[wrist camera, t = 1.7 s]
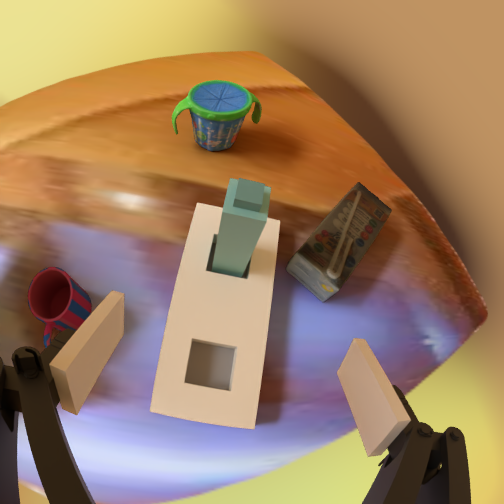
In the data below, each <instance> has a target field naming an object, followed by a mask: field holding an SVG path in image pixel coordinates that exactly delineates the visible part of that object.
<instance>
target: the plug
mask: <svg viewBox="0 0 504 504" xmlns="http://www.w3.org/2000/svg"><path fill="white" fill-rule="evenodd" d="M270 192H271V187H268V186H265V184H263V183H259V182H255V181H250V180H246V179H241V178H239V180H237V179H232V178H230V181H229V185H228V190H227V194H226V198H225V202H224V206H223V211H222V216H221V221H220V226H219V232H218V237H217V243H216V248H215V254H214V260H213V265H212V271H211V272H214V273H219V274H224V275H229V276H234V277H239V278H241V277H242V275H243V273H244V271H245V269H246V266H247V264H248V262H249V260H250V258H251V255H252V253H253V251H254V249H255V246H256V244H257V242H258V240H259V238H260V235H261V233H262V231H263V229H264V227H265V224H266V222H267V216H268V208H269V200H270Z"/></svg>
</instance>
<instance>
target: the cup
mask: <svg viewBox="0 0 504 504" xmlns="http://www.w3.org/2000/svg"><path fill="white" fill-rule="evenodd" d="M28 304H29V307H30V310H31V312H32V313H33V315H34V316H35V317H36V318H37V319H39V320H41V321H42V322H44V323H45V324H46V327H45V331H44V345H45V348H46V347H47V346H48V345H50V343H51V333H52V330H53V328H56V329H58V330H60V331H61V332H62V331H64V330H66V329H67V328H69V329H71V330H74V331H77V330H78V329H79V327H80V326H81V325H82V324H83V323H84V321H85V320H86V319H87V318H88V317H89V316H90V315H91V301H90V298H89V296H88V294H87V293H86V292H85V291H84V290H83V289H82V288H81V287H80V286H79V285H78V284H77V283H76V282H75V281H74V280H73V279H72V278H71V277H70V276H69V275H68V274H67V273H66V272H65V271H64V270H62V269H60V268H57V267H49V268H46V269H43V270H42V271H40V272H39V273H38V274H37V275H36V276H35V277H34V279H33V280H32V282H31V284H30V287H29V291H28Z"/></svg>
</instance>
